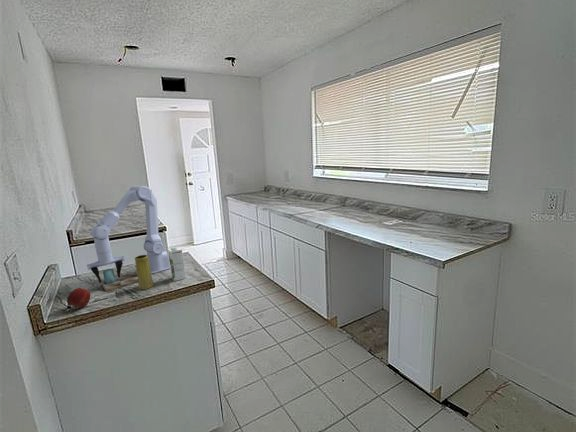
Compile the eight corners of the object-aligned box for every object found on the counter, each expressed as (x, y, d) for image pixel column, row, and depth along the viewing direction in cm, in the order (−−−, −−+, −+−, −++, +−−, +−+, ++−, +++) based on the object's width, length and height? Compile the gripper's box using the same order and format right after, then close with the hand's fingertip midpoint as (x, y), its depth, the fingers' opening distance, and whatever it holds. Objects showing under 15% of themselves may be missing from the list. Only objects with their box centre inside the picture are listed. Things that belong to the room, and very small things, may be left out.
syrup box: (171, 277, 144) (166, 248, 141) (184, 274, 146) (180, 246, 143) (173, 281, 139) (168, 252, 136) (186, 278, 142) (182, 249, 138)
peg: (115, 282, 141) (112, 268, 140) (116, 284, 138) (113, 270, 137) (105, 284, 139) (102, 270, 138) (106, 287, 136) (103, 273, 134)
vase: (150, 282, 140) (145, 253, 137) (155, 286, 135) (150, 256, 132) (137, 287, 136) (131, 257, 133) (141, 290, 131) (136, 260, 128)
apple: (92, 307, 119) (88, 289, 117) (68, 314, 115) (64, 295, 113) (92, 300, 125) (88, 282, 124) (69, 306, 121) (65, 288, 120)
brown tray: (136, 274, 150) (135, 270, 150) (141, 281, 142) (141, 276, 142) (101, 284, 141) (100, 280, 141) (105, 291, 133) (104, 287, 132)
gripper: (119, 245, 143) (125, 272, 146) (83, 253, 134) (90, 282, 137) (123, 248, 137) (128, 276, 140) (85, 257, 128) (92, 286, 131)
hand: (109, 279), depth 138 cm, fingers open, 7 cm apart
